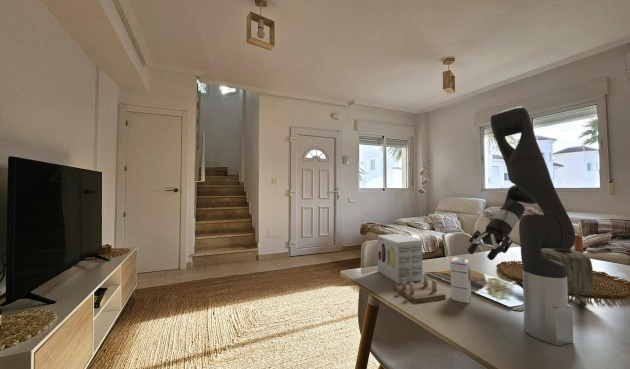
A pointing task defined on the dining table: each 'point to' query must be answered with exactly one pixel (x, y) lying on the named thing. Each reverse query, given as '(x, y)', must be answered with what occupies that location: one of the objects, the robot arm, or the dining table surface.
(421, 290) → the pin tray
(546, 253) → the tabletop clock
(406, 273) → the supplement box
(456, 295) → the syrup box
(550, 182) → the robot arm
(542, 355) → the dining table surface
